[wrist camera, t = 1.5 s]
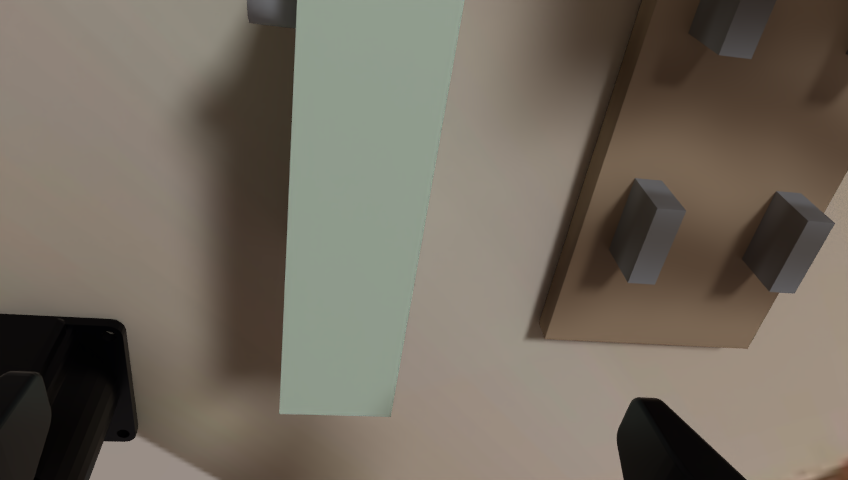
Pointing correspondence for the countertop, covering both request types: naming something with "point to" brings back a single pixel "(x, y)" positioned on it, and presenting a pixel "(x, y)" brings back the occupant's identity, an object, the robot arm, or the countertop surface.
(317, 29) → the door
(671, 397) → the countertop surface
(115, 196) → the countertop surface
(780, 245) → the board
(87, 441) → the robot arm
